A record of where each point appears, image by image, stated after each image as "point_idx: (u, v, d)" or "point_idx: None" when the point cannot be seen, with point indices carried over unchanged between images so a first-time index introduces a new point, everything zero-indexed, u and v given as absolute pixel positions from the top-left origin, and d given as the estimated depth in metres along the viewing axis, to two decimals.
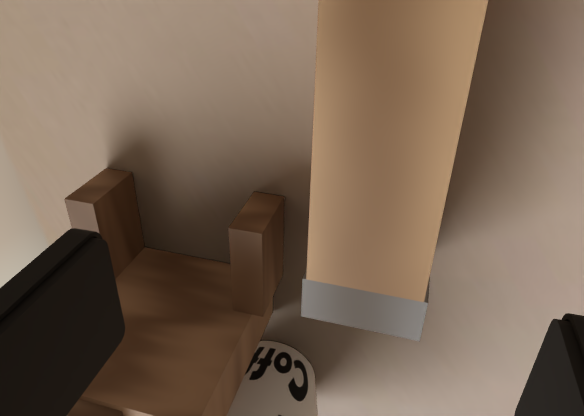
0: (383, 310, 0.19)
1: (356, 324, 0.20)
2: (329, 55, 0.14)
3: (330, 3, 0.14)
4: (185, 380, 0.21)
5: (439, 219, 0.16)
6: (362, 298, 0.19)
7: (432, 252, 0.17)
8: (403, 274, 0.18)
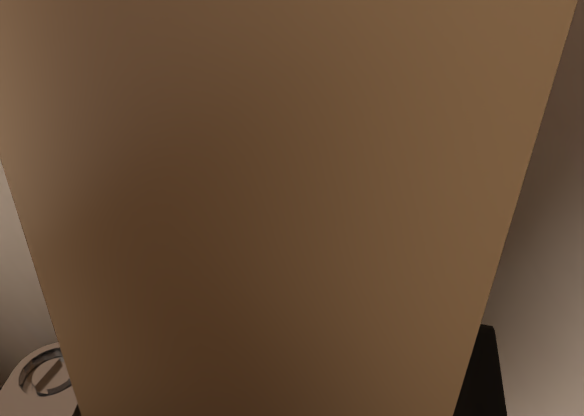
0: None
1: None
2: (75, 304, 0.05)
3: (39, 190, 0.05)
4: None
5: None
6: None
7: None
8: None
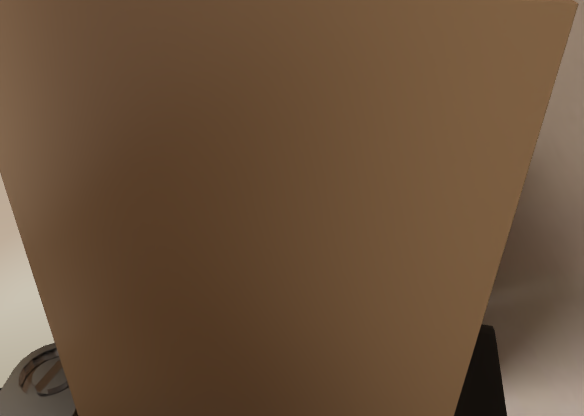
0: None
1: None
2: (73, 308, 0.05)
3: (36, 195, 0.05)
4: None
5: None
6: None
7: None
8: None
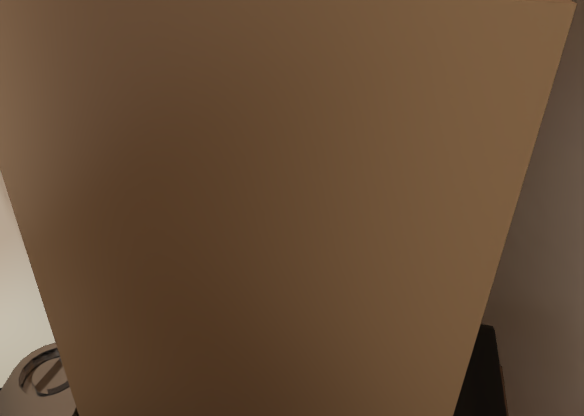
0: None
1: None
2: (74, 307, 0.05)
3: (36, 194, 0.05)
4: None
5: None
6: None
7: None
8: None
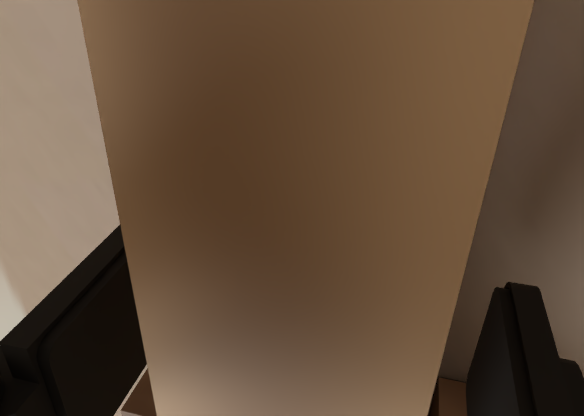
0: None
1: None
2: (147, 233, 0.07)
3: (127, 134, 0.06)
4: None
5: None
6: None
7: None
8: None
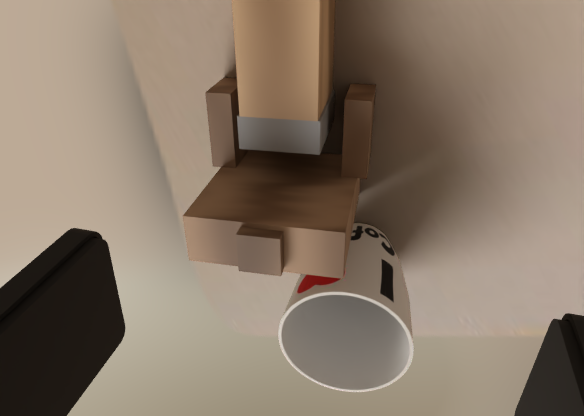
0: (293, 132, 0.28)
1: (277, 148, 0.28)
2: None
3: None
4: (324, 212, 0.27)
5: (317, 53, 0.25)
6: (278, 125, 0.27)
7: (317, 80, 0.26)
8: (301, 100, 0.26)
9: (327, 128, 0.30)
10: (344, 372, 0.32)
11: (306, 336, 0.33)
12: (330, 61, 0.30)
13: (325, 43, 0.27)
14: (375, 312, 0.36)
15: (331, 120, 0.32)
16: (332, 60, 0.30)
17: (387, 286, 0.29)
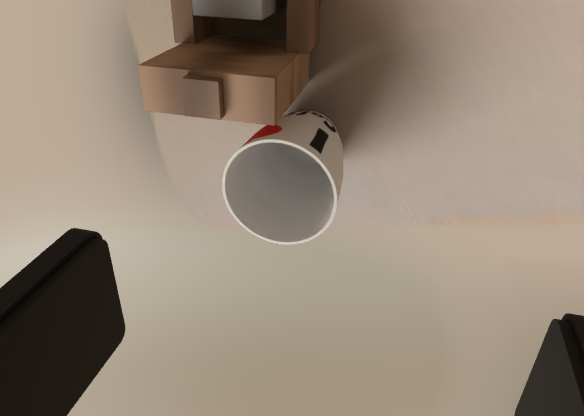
0: None
1: (225, 14, 0.32)
2: None
3: None
4: (261, 68, 0.31)
5: None
6: None
7: None
8: None
9: (274, 5, 0.34)
10: (283, 231, 0.36)
11: (252, 201, 0.37)
12: None
13: None
14: (319, 190, 0.40)
15: (281, 3, 0.35)
16: None
17: (318, 143, 0.33)
